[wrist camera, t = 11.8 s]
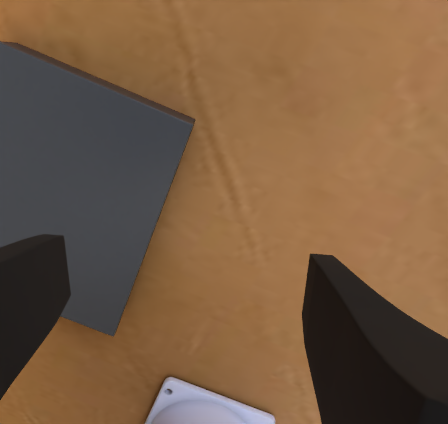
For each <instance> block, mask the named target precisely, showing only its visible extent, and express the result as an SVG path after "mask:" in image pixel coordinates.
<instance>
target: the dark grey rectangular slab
mask: <svg viewBox="0 0 448 424" xmlns="http://www.w3.org/2000/svg"><path fill="white" fill-rule="evenodd" d="M194 122H195V119H193V118H191V117H188V116H186V115H184V114H182V113H179V112H177V111H175V110H172V109H170V108H168V107H165V106H163V105H161V104H158V103H156V102H154V101H151V100H149V99H147V98H144V97H142V96H140V95H137V94H135V93H133V92H130V91H128V90H126V89H123V88H121V87H119V86H116V85H114V84H112V83H109V82H107V81H105V80H102V79H100V78H98V77H95V76H93V75H91V74H88V73H86V72H84V71H81V70H79V69H77V68H74V67H72V66H70V65H67V64H65V63H63V62H60V61H58V60H56V59H53V58H51V57H49V56H46V55H44V54H42V53H39V52H37V51H35V50H32V49H30V48H28V47H25V46H23V45H21V44H18V43H13V42H1V41H0V247H3V246H6V245H8V244H11V243H14V242H17V241H20V240H23V239H26V238H30V237H33V236H37V235H42V234H50V235H64V240H65V248H66V257H67V265H68V273H69V282H70V290H71V296H70V298H69V300H68V302H67V304H66V306H65V308H64V310H63V312H62V314H61V315H60V316H61V317H64V318H66V319H69V320H71V321H74V322H77V323H79V324H82V325H84V326H87V327H90V328H92V329H95V330H97V331H100V332H103V333H105V334H108V335H111V336H114V335H115V333H116V330H117V327H118V325H119V322H120V319H121V317H122V314H123V311H124V309H125V306H126V304H127V301H128V298H129V296H130V293H131V290H132V288H133V285H134V282H135V280H136V277H137V274H138V272H139V269H140V266H141V264H142V261H143V258H144V256H145V253H146V250H147V248H148V245H149V242H150V240H151V237H152V234H153V232H154V229H155V226H156V224H157V221H158V219H159V216H160V213H161V211H162V208H163V205H164V203H165V200H166V197H167V195H168V192H169V189H170V187H171V184H172V181H173V179H174V176H175V173H176V171H177V168H178V165H179V163H180V160H181V157H182V155H183V152H184V149H185V147H186V144H187V141H188V139H189V136H190V134H191V131H192V128H193V126H194Z"/></svg>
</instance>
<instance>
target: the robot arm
mask: <svg viewBox="0 0 448 424" xmlns="http://www.w3.org/2000/svg"><path fill="white" fill-rule="evenodd" d="M70 296H71V290H70V282H69V273H68V265H67V257H66V248H65V240H64V235H50V234H42V235H37V236H33V237H30V238H26V239H23V240H20V241H17V242H14V243H11V244H8V245H6V246H3V247H0V400H1V398H2V397H3V395H4V394H5V393H6V391H7V390H8V388H9V387H10V385H11V384H12V383H13V381H14V380H15V378H16V377H17V376H18V374H19V373H20V372H21V370H22V369H23V368H24V366H25V365H26V364H27V362H28V361H29V360H30V358H31V357H32V356H33V354H34V353H35V352H36V350H37V349H38V348H39V346H40V345H41V344H42V342H43V341H44V339H45V338H46V337H47V335H48V334H49V332H50V331H51V330H52V328H53V327H54V325H55V324H56V323H57V321H58V319H59V317H60V315H61V314H62V312H63V310H64V308H65V306H66V304H67V302H68V300H69V298H70ZM302 321H303V333H304V344H305V349H306V354H307V358H308V363H309V367H310V372H311V376H312V381H313V385H314V390H315V394H316V398H317V403H318V407H319V412H320V416H321V422H322V424H448V339H447V338H445V337H443V336H442V335H440V334H438V333H436V332H434V331H433V330H431V329H429V328H428V327H426V326H424V325H423V324H421V323H420V322H418V321H416V320H415V319H413V318H411V317H410V316H408V315H407V314H405V313H404V312H402V311H401V310H399V309H398V308H397V307H395V306H394V305H393V304H391V303H390V302H388V301H387V300H386V299H384V298H383V297H382V296H380V295H379V294H378V293H377V292H375V291H374V290H373V289H372V288H370V287H369V286H368V285H367V284H366V283H364V282H363V281H362V280H361V279H360V278H358V277H357V276H356V275H355V274H354V273H353V272H352V271H350V270H349V269H348V268H347V267H346V266H345V265H344V264H342V263H341V262H340V261H339V260H338V259H336V258H335V257H334V256H332V255H322V254H310V259H309V266H308V273H307V281H306V288H305V296H304V303H303V310H302ZM167 389H170V390H167ZM145 424H275V418H274V416H273V415H271V414H269V413H266V412H264V411H261V410H258V409H256V408H253V407H250V406H248V405H245V404H242V403H240V402H237V401H235V400H232V399H229V398H227V397H224V396H221V395H219V394H216V393H214V392H211V391H208V390H206V389H203V388H200V387H198V386H195V385H192V384H190V383H187V382H185V381H182V380H179V379H177V378H174V377H168V378H166V379H165V381H164V383H163V385H162V387H161V390H160V392H159V394H158V396H157V398H156V400H155V402H154V405H153V407H152V409H151V411H150V413H149V415H148V417H147V420H146V422H145Z"/></svg>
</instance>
